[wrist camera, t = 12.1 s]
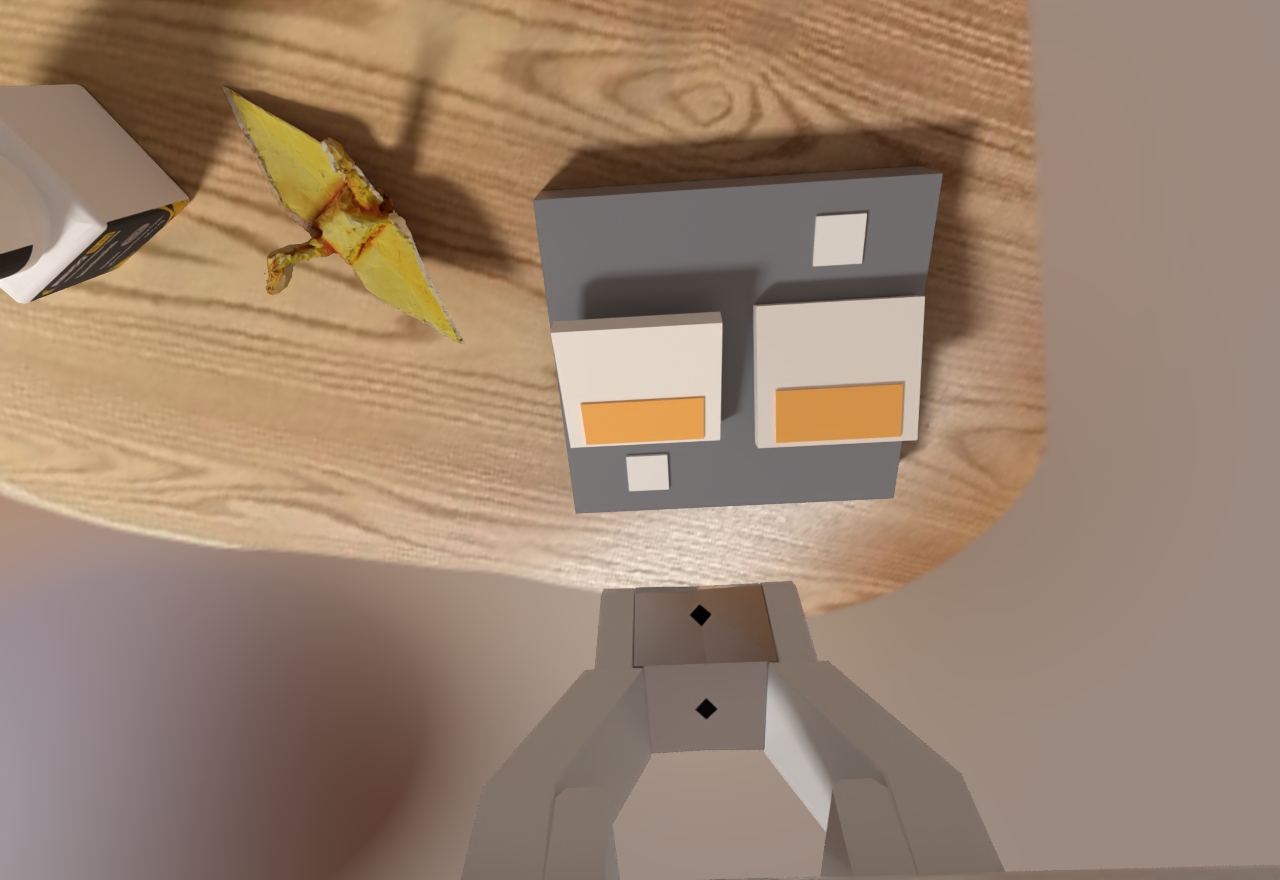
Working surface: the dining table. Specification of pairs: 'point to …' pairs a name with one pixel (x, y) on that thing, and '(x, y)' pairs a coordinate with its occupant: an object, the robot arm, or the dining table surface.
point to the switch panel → (733, 312)
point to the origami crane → (338, 216)
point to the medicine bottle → (72, 191)
